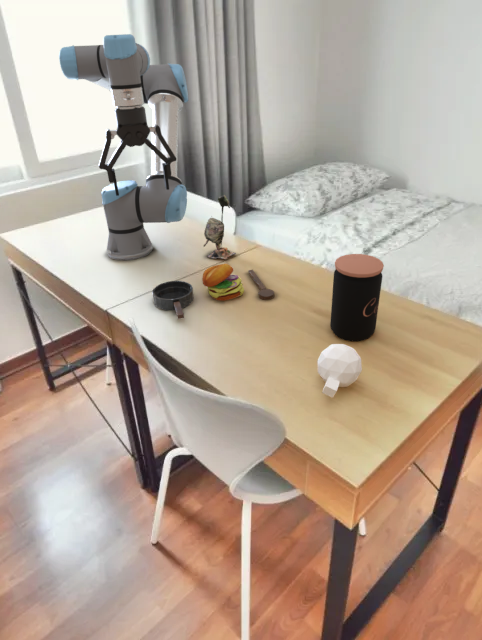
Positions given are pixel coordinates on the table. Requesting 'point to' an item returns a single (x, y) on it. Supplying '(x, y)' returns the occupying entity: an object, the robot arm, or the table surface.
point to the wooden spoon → (261, 287)
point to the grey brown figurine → (217, 233)
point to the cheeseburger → (222, 282)
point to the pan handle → (178, 310)
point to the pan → (173, 294)
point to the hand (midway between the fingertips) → (142, 191)
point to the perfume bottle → (338, 367)
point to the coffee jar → (355, 296)
